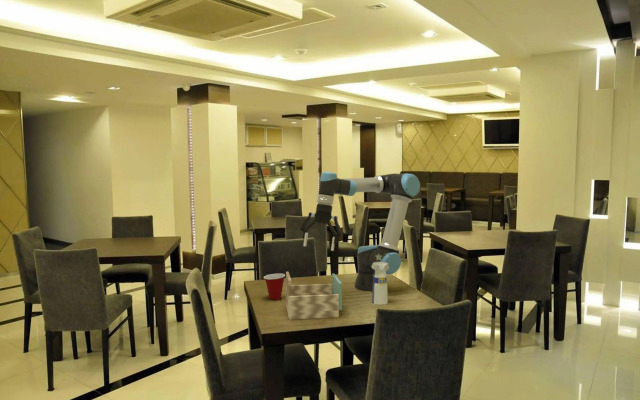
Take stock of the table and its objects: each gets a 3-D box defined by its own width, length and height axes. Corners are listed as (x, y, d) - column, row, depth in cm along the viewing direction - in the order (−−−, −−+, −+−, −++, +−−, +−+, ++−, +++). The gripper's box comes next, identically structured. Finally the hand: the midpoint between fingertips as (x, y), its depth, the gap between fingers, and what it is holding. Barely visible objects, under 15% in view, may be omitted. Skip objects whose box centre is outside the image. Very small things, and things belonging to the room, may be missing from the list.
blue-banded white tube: (391, 304, 226) (391, 253, 224) (374, 305, 225) (374, 253, 223) (386, 299, 234) (386, 250, 233) (369, 300, 233) (369, 250, 231)
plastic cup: (265, 295, 243) (265, 272, 242) (286, 295, 243) (286, 272, 242) (262, 301, 232) (262, 277, 232) (284, 301, 232) (283, 277, 231)
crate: (331, 304, 227) (331, 269, 226) (338, 317, 208) (338, 279, 206) (286, 306, 224) (285, 271, 223) (289, 319, 205) (288, 281, 204)
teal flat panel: (336, 298, 227) (336, 273, 226) (343, 309, 208) (343, 283, 207) (332, 298, 227) (332, 273, 226) (339, 310, 208) (339, 283, 207)
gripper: (297, 200, 223) (291, 244, 223) (348, 207, 217) (342, 252, 217) (302, 201, 231) (295, 244, 230) (351, 208, 224) (345, 252, 224)
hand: (318, 248), depth 223 cm, fingers open, 13 cm apart
